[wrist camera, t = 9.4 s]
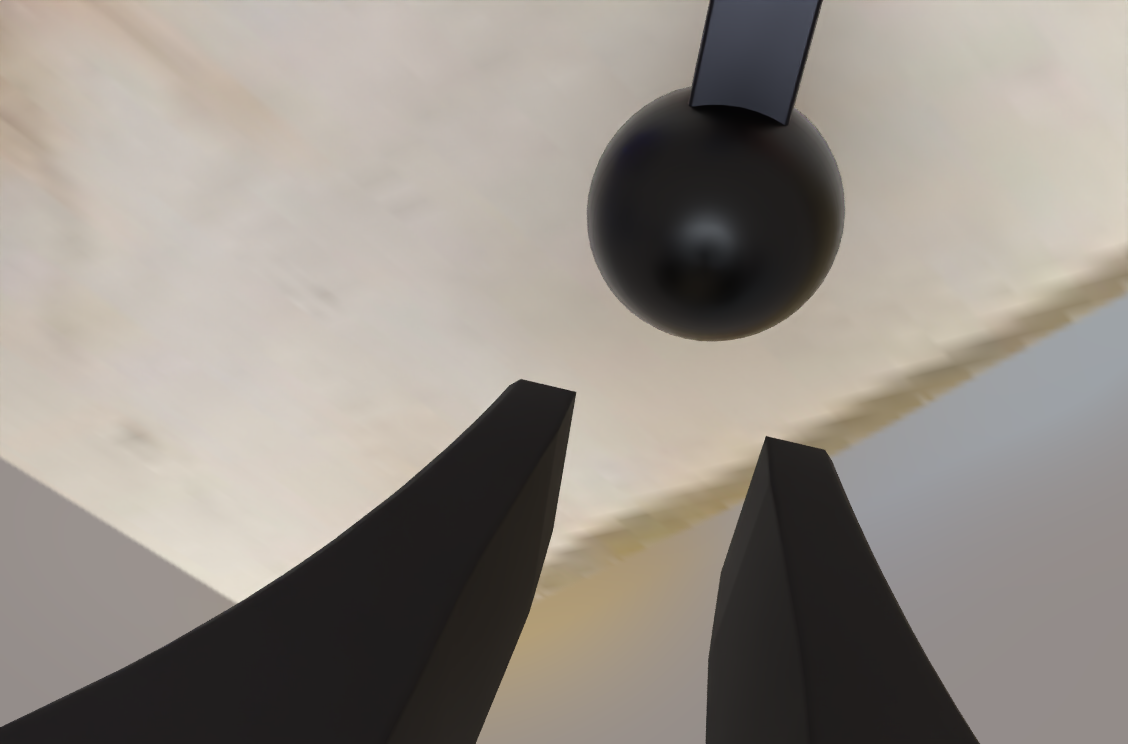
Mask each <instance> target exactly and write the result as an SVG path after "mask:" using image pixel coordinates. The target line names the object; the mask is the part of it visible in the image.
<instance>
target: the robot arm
mask: <svg viewBox="0 0 1128 744" xmlns="http://www.w3.org/2000/svg"><path fill="white" fill-rule="evenodd" d="M575 397H576V392H574V391H570V390H565V389H561V388H557V387H553V386H548V385H544V384H540V383H535V382H531V381H527V380H523V379H520V380H518V381H517V382H515V383H513V384H511V385H509V386H508V388H507V389H506V390H505V391H504V392H503V393H502V394H501V395H500V396H499V397H498V398H497V400H496V401H495V402H494V403H493V404H492V405H491V406H490V407H489V408H488V409H487V410H486V411H485V412H484V413H483V414H482V415H481V416H480V417H479V418H478V419H477V420H476V421H475V422H474V423H473V424H472V425H471V426H470V427H469V428H468V429H466V430H465V431H464V432H463V433H462V434H461V435H460V436H459V437H458V438H457V439H456V440H455V441H454V442H453V443H452V444H450V445H449V446H448V447H447V448H446V449H445V450H444V451H443V452H442V453H440V454H439V455H438V456H437V457H436V458H435V459H434V460H432V461H431V462H430V463H429V464H428V465H427V466H425V467H424V468H423V469H422V470H421V471H420V472H419V473H417V474H416V475H415V476H414V477H413V478H412V479H410V480H409V481H408V482H407V483H406V484H405V485H404V486H402V487H401V488H400V489H399V490H398V491H396V492H395V493H394V494H393V495H391V496H390V497H389V498H388V499H386V500H385V501H384V502H382V503H381V504H380V505H379V506H377V507H376V508H375V509H373V510H372V511H371V512H369V513H368V514H367V515H366V516H364V517H363V518H362V519H360V520H359V521H358V522H356V523H355V524H354V525H352V526H351V527H350V528H349V529H347V530H346V531H345V532H343V533H342V534H341V535H339V536H338V537H337V538H336V539H334V540H333V541H331V542H330V543H329V544H327V545H326V546H324V547H323V548H322V549H320V550H319V551H317V552H316V553H314V554H313V555H312V556H310V557H309V558H307V559H306V560H304V561H303V562H302V563H300V564H299V565H297V566H296V567H294V568H293V569H291V570H290V571H288V572H287V573H285V574H284V575H282V576H281V577H279V578H277V579H276V580H274V581H273V582H271V583H270V584H268V585H267V586H265V587H263V588H262V589H260V590H259V591H257V592H256V593H254V594H252V595H251V596H249V597H248V598H246V599H245V600H243V601H241V602H240V603H238V604H236V605H235V606H233V607H231V608H230V609H228V610H226V611H224V612H223V613H221V614H219V615H218V616H216V617H214V618H212V619H211V620H209V621H207V622H206V623H204V624H202V625H200V626H199V627H197V628H195V629H193V630H192V631H190V632H188V633H186V634H185V635H183V636H181V637H180V638H178V639H176V640H174V641H173V642H171V643H169V644H167V645H166V646H164V647H162V648H160V649H158V650H156V651H154V652H152V653H151V654H149V655H147V656H145V657H143V658H141V659H139V660H138V661H136V662H134V663H132V664H130V665H128V666H126V667H124V668H122V669H120V670H118V671H116V672H114V673H112V674H110V675H108V676H106V677H104V678H102V679H100V680H98V681H96V682H94V683H91V684H89V685H87V686H85V687H83V688H81V689H79V690H77V691H75V692H73V693H71V694H69V695H67V696H64V697H62V698H61V699H58V700H56V701H54V702H52V703H50V704H48V705H46V706H44V707H42V708H40V709H38V710H35V711H34V712H31V713H29V714H27V715H25V716H23V717H21V718H19V719H17V720H15V721H13V722H10V723H8V724H6V725H4V726H2V727H0V744H476V741H477V738H478V736H479V734H480V731H481V729H482V727H483V724H484V722H485V719H486V717H487V715H488V712H489V710H490V707H491V705H492V702H493V700H494V698H495V695H496V692H497V690H498V688H499V685H500V683H501V680H502V678H503V676H504V673H505V671H506V668H507V666H508V663H509V661H510V659H511V656H512V654H513V651H514V649H515V646H516V644H517V641H518V639H519V636H520V634H521V631H522V629H523V627H524V624H525V622H526V619H527V617H528V614H529V612H530V608H531V605H532V601H533V598H534V595H535V591H536V588H537V584H538V581H539V577H540V574H541V570H542V567H543V563H544V560H545V556H546V553H547V549H548V546H549V542H550V539H551V535H552V532H553V527H554V521H555V515H556V509H557V503H558V497H559V491H560V485H561V479H562V474H563V468H564V462H565V456H566V450H567V444H568V438H569V432H570V426H571V420H572V414H573V409H574V403H575ZM706 744H980V743H979V742H978V740H977V739H976V737H975V736H974V734H973V732H972V731H971V729H970V727H969V726H968V724H967V723H966V721H965V720H964V718H963V717H962V715H961V713H960V712H959V710H958V708H957V707H956V705H955V703H954V702H953V700H952V698H951V697H950V695H949V693H948V692H947V690H946V688H945V687H944V685H943V683H942V681H941V680H940V678H939V676H938V675H937V673H936V671H935V670H934V668H933V666H932V665H931V663H930V661H929V660H928V658H927V656H926V654H925V652H924V651H923V649H922V647H921V645H920V643H919V642H918V640H917V638H916V636H915V635H914V633H913V631H912V629H911V627H910V625H909V624H908V621H907V620H906V618H905V616H904V614H903V612H902V610H901V608H900V606H899V604H898V602H897V600H896V598H895V597H894V594H893V593H892V591H891V589H890V587H889V585H888V583H887V581H886V579H885V577H884V575H883V573H882V571H881V569H880V567H879V565H878V563H877V561H876V559H875V557H874V555H873V553H872V551H871V549H870V547H869V544H868V542H867V540H866V538H865V536H864V534H863V531H862V529H861V527H860V525H859V523H858V521H857V518H856V516H855V514H854V512H853V509H852V507H851V505H850V503H849V500H848V498H847V496H846V493H845V491H844V489H843V486H842V484H841V482H840V479H839V477H838V474H837V472H836V470H835V467H834V465H833V462H832V460H831V459H830V457H829V455H828V454H827V452H826V451H825V450H823V449H819V448H815V447H810V446H806V445H802V444H797V443H793V442H789V441H785V440H780V439H776V438H772V437H767V436H766V437H765V441H764V444H763V447H762V450H761V453H760V456H759V459H758V462H757V465H756V468H755V471H754V474H753V477H752V480H751V483H750V486H749V489H748V492H747V495H746V498H745V501H744V504H743V507H742V510H741V513H740V517H739V520H738V523H737V526H736V529H735V532H734V535H733V538H732V541H731V544H730V547H729V550H728V553H727V556H726V559H725V562H724V565H723V568H722V571H721V576H720V583H719V590H718V596H717V603H716V609H715V616H714V624H713V630H712V638H711V644H710V651H709V659H708V685H707V716H706Z"/></svg>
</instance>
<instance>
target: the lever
mask: <svg viewBox="0 0 1128 744" xmlns="http://www.w3.org/2000/svg"><path fill="white" fill-rule="evenodd" d="M822 2H823V0H710V2H709V7H708V11H707V16H706V21H705V26H704V30H703V35H702V40H701V44H700V49H699V54H698V59H697V63H696V68H695V73H694V77H693V82H692V86H690V87H686V88H683V89H679V90H675V91H673V92H671V93H668V94H666V95H664V96H661V97H659V98H658V99H656V100H654V101H652V102H651V103H649V104H647V105H646V106H644V107H643V108H642V109H640V110H639V111H638V112H637V113H635V114H634V115H633V116H632V117H631V118H630V119H629V120H628V121H627V122H626V123H625V124H624V125H623V126H622V127H621V128H620V129H619V130H618V131H617V133H616V134H615V135H614V137H613V138H612V139H611V141H610V142H609V143H608V145H607V147H606V148H605V150H604V152H603V154H602V156H601V157H600V159H599V162H598V165H597V167H596V170H595V172H594V175H593V178H592V182H591V186H590V190H589V194H588V204H587V226H588V236H589V241H590V247H591V250H592V253H593V256H594V259H595V262H596V264H597V266H598V268H599V270H600V273H601V275H602V277H603V279H604V280H605V282H606V283H607V285H608V287H609V288H610V290H611V291H612V292H613V294H614V295H615V296H616V297H617V298H618V300H619V301H620V302H621V303H622V304H623V305H624V306H625V307H626V308H627V309H628V310H630V311H631V312H632V313H633V314H635V315H636V316H637V317H639V318H640V319H641V320H643V321H644V322H646V323H648V324H650V325H651V326H653V327H655V328H657V329H659V330H661V331H664V332H666V333H669V334H671V335H674V336H678V337H681V338H685V339H691V340H698V341H726V340H733V339H738V338H744V337H747V336H751V335H754V334H757V333H760V332H762V331H764V330H767V329H769V328H771V327H773V326H775V325H777V324H778V323H780V322H782V321H783V320H785V319H787V318H788V317H789V316H790V315H792V314H793V313H794V312H795V311H797V310H798V309H799V308H800V307H801V306H802V305H803V304H804V303H805V302H806V301H807V300H808V299H809V298H810V297H811V296H812V295H813V294H814V293H815V292H816V290H817V289H818V288H819V286H820V285H821V284H822V282H823V281H824V279H825V277H826V275H827V274H828V272H829V270H830V268H831V266H832V264H833V262H834V259H835V257H836V254H837V252H838V249H839V246H840V242H841V238H842V234H843V228H844V218H845V200H844V189H843V184H842V178H841V175H840V172H839V169H838V166H837V163H836V160H835V158H834V156H833V154H832V152H831V150H830V148H829V146H828V144H827V142H826V141H825V139H824V138H823V137H822V135H821V134H820V132H819V131H818V129H817V128H816V127H815V126H814V125H813V124H812V123H811V122H810V121H809V120H808V119H807V118H806V116H804V115H803V114H802V113H801V112H799V111H798V110H797V109H796V108H794V105H795V101H796V97H797V94H798V90H799V86H800V83H801V79H802V75H803V72H804V68H805V64H806V61H807V57H808V53H809V50H810V46H811V42H812V39H813V35H814V31H815V28H816V24H817V20H818V17H819V13H820V9H821V6H822Z"/></svg>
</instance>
